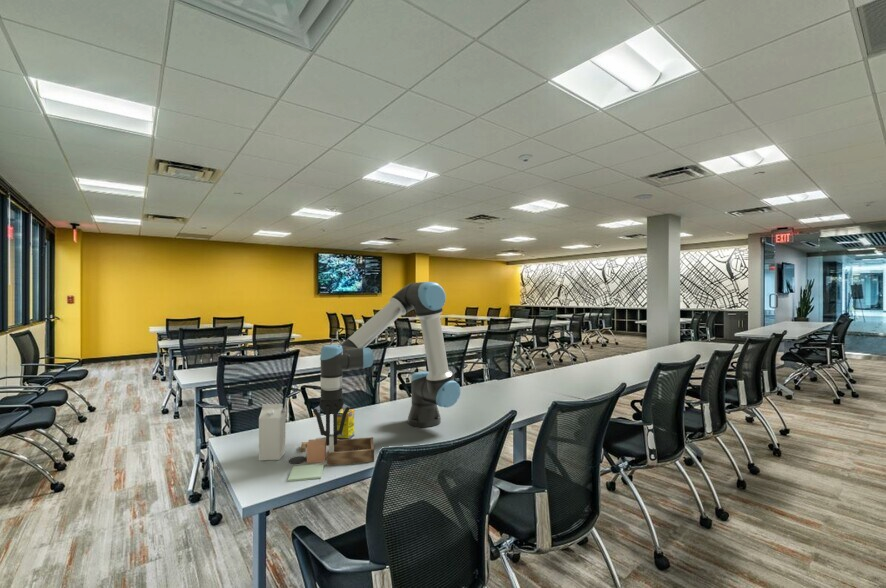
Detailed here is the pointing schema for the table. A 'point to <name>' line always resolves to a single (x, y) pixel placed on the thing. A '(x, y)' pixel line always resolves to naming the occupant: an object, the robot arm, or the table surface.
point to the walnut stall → (352, 456)
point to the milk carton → (271, 432)
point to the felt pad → (306, 472)
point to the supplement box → (346, 424)
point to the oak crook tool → (305, 446)
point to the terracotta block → (316, 450)
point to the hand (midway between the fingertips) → (331, 453)
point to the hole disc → (297, 460)
